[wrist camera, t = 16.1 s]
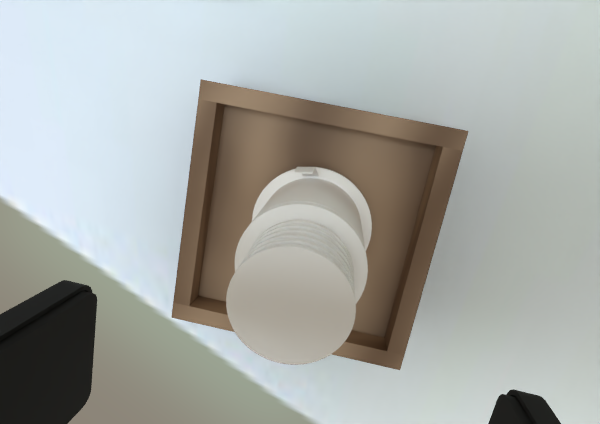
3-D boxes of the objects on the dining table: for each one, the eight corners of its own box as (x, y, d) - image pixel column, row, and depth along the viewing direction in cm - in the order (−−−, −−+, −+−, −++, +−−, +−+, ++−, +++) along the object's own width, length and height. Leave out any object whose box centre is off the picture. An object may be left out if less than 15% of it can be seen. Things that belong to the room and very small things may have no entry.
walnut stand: (441, 129, 25) (468, 131, 20) (389, 323, 28) (399, 370, 23) (229, 88, 26) (200, 79, 21) (202, 281, 29) (171, 317, 24)
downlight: (250, 156, 23) (184, 195, 13) (374, 157, 22) (398, 199, 12) (256, 283, 25) (201, 396, 15) (368, 288, 24) (385, 409, 15)
